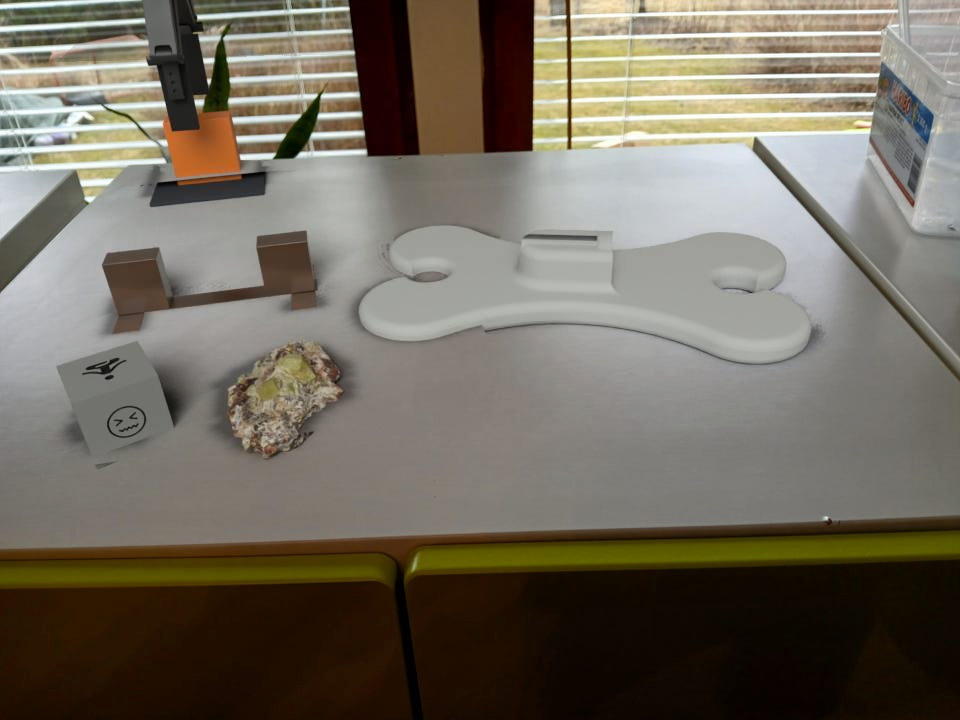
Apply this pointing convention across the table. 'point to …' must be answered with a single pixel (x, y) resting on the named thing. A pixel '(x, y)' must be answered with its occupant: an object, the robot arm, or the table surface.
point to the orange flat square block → (205, 149)
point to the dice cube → (115, 398)
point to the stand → (147, 289)
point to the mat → (208, 190)
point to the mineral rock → (282, 397)
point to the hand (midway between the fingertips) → (192, 111)
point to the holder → (593, 289)
